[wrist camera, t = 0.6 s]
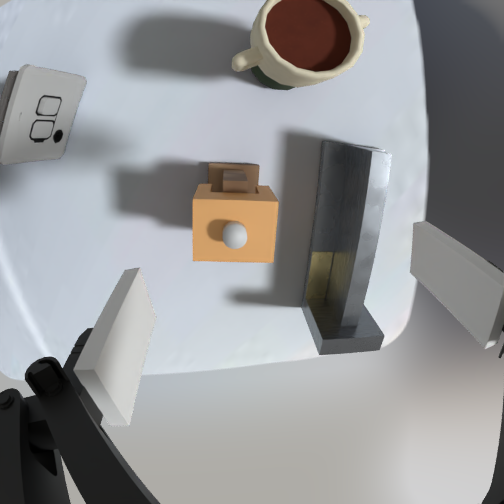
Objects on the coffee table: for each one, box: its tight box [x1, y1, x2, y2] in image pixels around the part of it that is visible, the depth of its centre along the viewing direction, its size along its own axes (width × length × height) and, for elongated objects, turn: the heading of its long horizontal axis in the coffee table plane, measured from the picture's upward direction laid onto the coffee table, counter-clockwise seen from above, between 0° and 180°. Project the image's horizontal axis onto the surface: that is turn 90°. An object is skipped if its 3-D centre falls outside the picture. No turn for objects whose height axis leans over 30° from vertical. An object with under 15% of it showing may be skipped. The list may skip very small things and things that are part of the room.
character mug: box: [232, 0, 370, 90], centre depth 22 cm, size 11×7×13 cm, turn 115°
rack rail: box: [301, 141, 392, 355], centre depth 31 cm, size 7×20×9 cm, turn 177°
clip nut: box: [193, 184, 279, 263], centre depth 27 cm, size 6×5×7 cm
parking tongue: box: [208, 163, 259, 194], centre depth 30 cm, size 5×8×7 cm, turn 177°
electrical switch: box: [0, 64, 87, 165], centre depth 23 cm, size 9×5×9 cm, turn 156°
